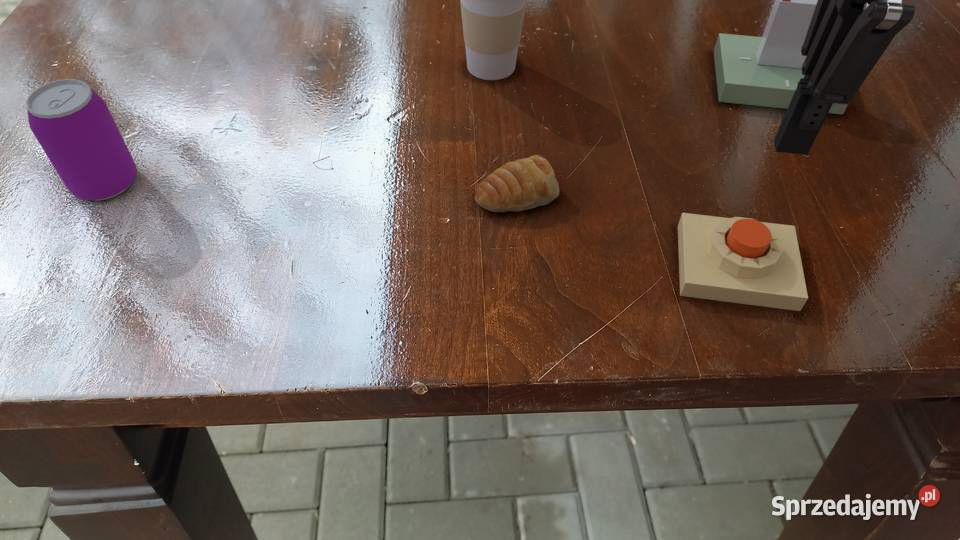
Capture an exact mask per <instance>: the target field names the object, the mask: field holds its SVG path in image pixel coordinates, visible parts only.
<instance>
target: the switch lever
mask: <svg viewBox="0 0 960 540" xmlns="http://www.w3.org/2000/svg"><path fill="white" fill-rule="evenodd" d="M817 1H818V0H774V3H773V6H772V9H771V11H770V14H769V17H768V20H767V22H766V24H765V25H766V26H765V28H764V31H763V33H762V36H761V37H762V39H761V42H760V44H759V47H758V50H757V53H756V61H757V64H758V65H769V66H779V67H789V68H799V69H802V65H803V63H804V61H805V59H806V56H803V55H802V53H801V48H802V45H803V43H804V40H805V37H806V34H807V31H808V28H809V25H810V22H811V19H812V16H813V13H814V10H815V7H816V4H817Z"/></svg>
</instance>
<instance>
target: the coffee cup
mask: <svg viewBox="0 0 960 540" xmlns="http://www.w3.org/2000/svg"><path fill="white" fill-rule="evenodd" d="M459 1H460V2H459V3H460V12H461V23H462V33H463V41H464V44H465V46H464V47H465V57H466V67H467V71H468V72H469V73H470V74H471V75H472V76H474V77H476V78H478V79H480V80H485V81H499V80H503V79H506V78H508V77H509V76H511V75H513V73H514V72H515V70H516V65H517V58H518V54H519V53H518V51H519V45H520V43H521V40H522V39H521V38H522V32H523V27H524V20H525V14H526V8H527V1H528V0H459Z"/></svg>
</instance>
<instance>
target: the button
mask: <svg viewBox="0 0 960 540" xmlns="http://www.w3.org/2000/svg"><path fill="white" fill-rule="evenodd" d="M753 219H754V218H752V219H740V220H738V221H736V222H735V223H733V225H732V227H731V229H730V231H729V234H728V236H727V245H728V247H729V248H730V250H731V251H732V252H734V253H736V254H738V255H739V256H741V257H744V258H752V259H754V258H758V257H761V256H762V255H764V253H765V252H766V250H767V248H768V246H769V244H770V242H771V240H772V235H771V232H770V230H769V229H768V227H767V226H765V225H764V224H763V223H761V222H762V221H759V220H757V219H755V220H753Z"/></svg>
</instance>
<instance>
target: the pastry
mask: <svg viewBox="0 0 960 540" xmlns="http://www.w3.org/2000/svg"><path fill="white" fill-rule="evenodd" d="M559 196H560V187H559V182H558V180H557V177H556V173H555V170H554V168H553V167H552V165H551V164H550V162H549V161H548V159H546V158H545V157H542V156H541V155H539V154H535V155H531V156H529V157H526V158H518V159H516V160H514V161H513V160H512V161H507V162H505V164H503V165H502V166H500V167H498V168H497V169H495V170H494V171H493V172H491V173H490V174H488V176H487V177H485V178H484V179H482V181H481V182H479V183H478V184H477V185H476V189H475V195H474V200H475V202H476V203H477V205H478V206H480V207H481V208H483V209H485V210H486V211H489V212H494V213H506V212H513V213H517V212H523V211H529V210H531V209H535V208H537V207H541V206H542V207H543V206H546V205H549V204H551V202H553V201H554V200H556V199H557V198H558V197H559Z"/></svg>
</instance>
